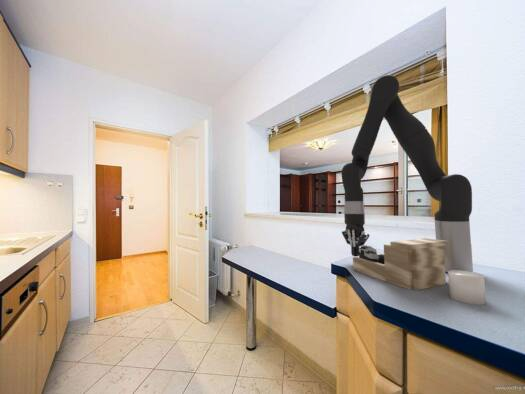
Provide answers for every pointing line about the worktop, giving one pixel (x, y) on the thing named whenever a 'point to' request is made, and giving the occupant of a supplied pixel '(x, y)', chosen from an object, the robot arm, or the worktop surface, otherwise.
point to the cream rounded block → (467, 287)
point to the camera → (370, 254)
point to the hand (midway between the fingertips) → (355, 255)
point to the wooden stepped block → (408, 264)
